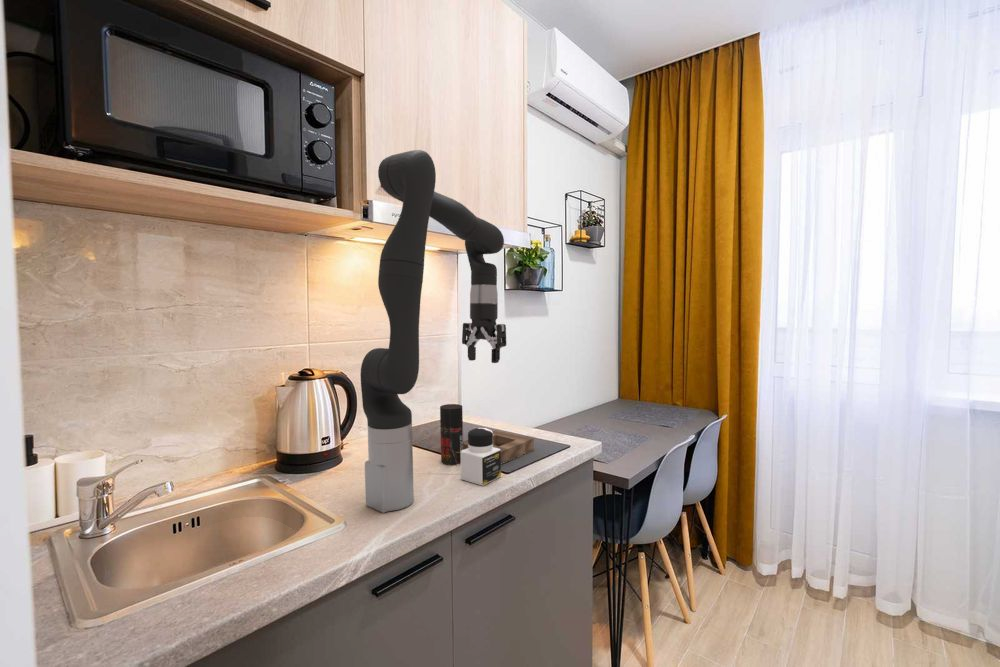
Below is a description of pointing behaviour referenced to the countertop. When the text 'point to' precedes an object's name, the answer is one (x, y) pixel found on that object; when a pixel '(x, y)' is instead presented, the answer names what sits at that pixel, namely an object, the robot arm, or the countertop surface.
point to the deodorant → (451, 433)
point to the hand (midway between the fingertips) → (483, 361)
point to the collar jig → (509, 444)
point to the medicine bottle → (480, 458)
